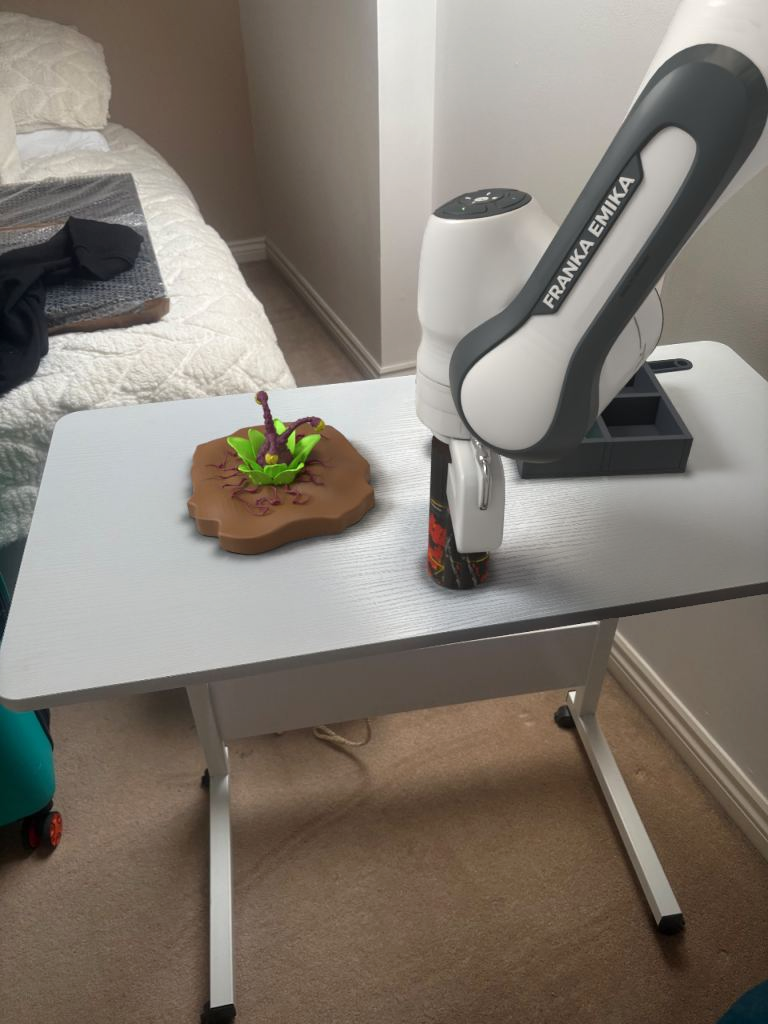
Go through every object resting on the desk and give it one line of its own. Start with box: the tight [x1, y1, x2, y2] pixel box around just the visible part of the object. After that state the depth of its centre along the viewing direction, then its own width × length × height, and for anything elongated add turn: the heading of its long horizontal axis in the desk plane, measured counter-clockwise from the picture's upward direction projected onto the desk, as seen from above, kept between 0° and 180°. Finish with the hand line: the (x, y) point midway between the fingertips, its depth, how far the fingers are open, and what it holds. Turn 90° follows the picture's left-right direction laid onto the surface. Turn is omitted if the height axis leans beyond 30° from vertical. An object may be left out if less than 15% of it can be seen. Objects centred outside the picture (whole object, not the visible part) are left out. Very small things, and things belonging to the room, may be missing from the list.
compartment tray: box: [515, 360, 694, 480], centre depth 98 cm, size 18×18×5 cm
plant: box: [186, 390, 376, 555], centre depth 87 cm, size 20×20×11 cm
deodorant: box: [426, 434, 491, 591], centre depth 76 cm, size 6×6×15 cm
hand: (460, 521), depth 77 cm, fingers closed on deodorant, 6 cm apart
